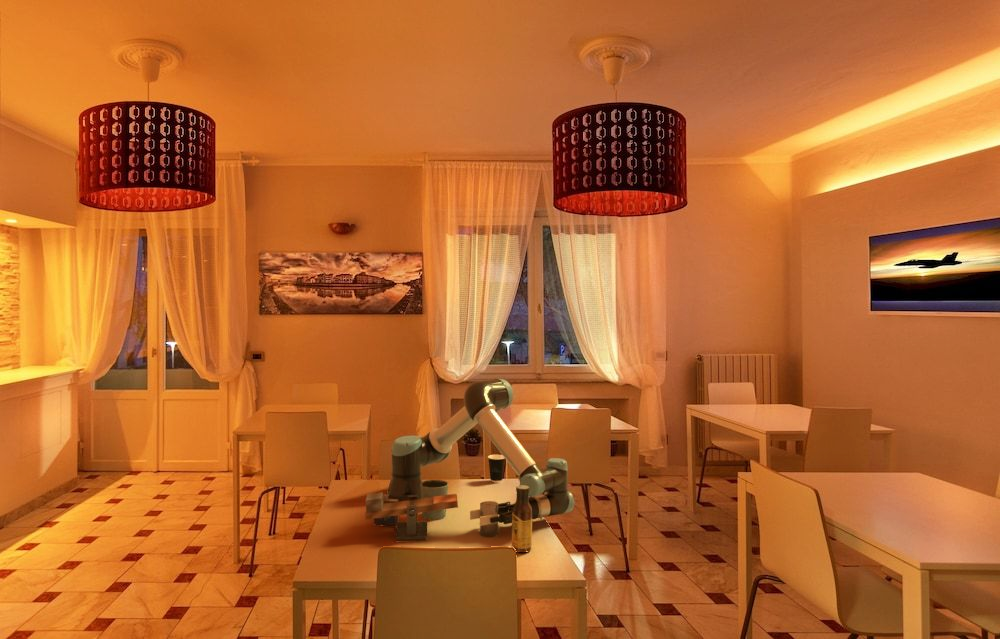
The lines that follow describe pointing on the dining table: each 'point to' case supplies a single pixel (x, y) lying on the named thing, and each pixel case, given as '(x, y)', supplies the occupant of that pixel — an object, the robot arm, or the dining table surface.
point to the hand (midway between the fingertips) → (475, 518)
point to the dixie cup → (496, 467)
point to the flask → (391, 519)
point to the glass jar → (485, 510)
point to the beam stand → (411, 526)
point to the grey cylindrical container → (431, 490)
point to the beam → (379, 509)
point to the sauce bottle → (522, 521)
